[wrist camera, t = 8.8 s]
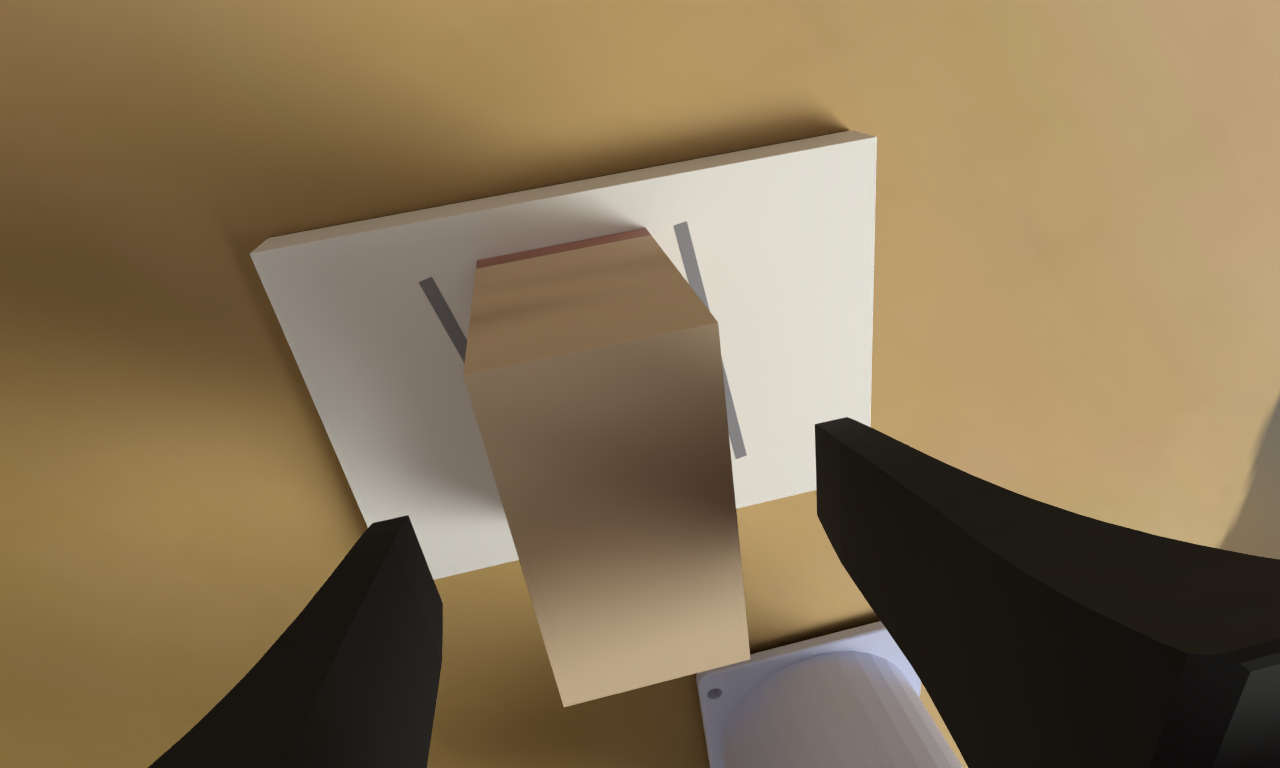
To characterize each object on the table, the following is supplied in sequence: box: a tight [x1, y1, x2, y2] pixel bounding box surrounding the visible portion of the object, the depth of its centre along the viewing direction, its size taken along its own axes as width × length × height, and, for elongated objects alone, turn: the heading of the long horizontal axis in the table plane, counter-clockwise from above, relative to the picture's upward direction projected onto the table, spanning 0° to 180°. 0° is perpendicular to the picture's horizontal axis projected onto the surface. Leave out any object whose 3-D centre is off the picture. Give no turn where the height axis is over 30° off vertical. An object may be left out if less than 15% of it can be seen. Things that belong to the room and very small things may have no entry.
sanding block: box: [463, 228, 750, 707], centre depth 13 cm, size 7×4×6 cm, turn 8°
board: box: [250, 130, 877, 580], centre depth 16 cm, size 9×13×1 cm
